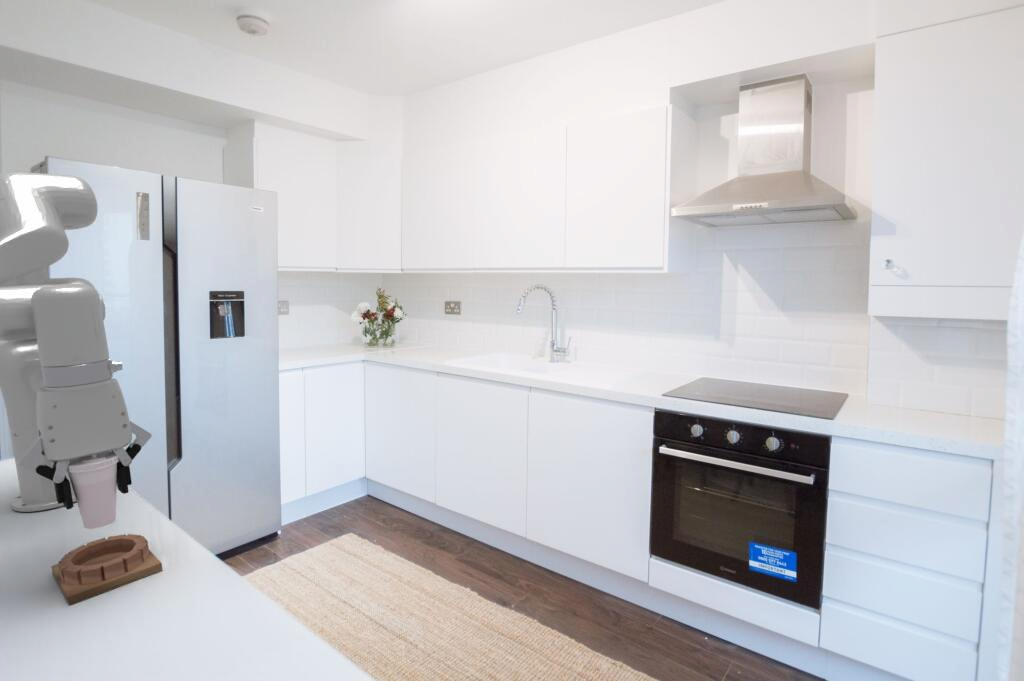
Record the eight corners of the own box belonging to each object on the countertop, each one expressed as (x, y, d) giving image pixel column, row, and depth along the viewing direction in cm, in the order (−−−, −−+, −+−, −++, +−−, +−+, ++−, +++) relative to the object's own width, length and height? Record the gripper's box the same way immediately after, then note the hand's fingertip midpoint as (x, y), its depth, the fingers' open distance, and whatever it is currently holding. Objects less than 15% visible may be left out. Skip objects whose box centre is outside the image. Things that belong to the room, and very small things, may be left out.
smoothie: (98, 534, 79) (85, 436, 77) (60, 531, 80) (46, 434, 78) (137, 514, 85) (126, 422, 83) (101, 511, 86) (89, 421, 84)
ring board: (52, 573, 84) (49, 553, 83) (138, 544, 92) (136, 525, 91) (69, 605, 76) (65, 583, 75) (162, 570, 84) (159, 550, 83)
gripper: (141, 362, 88) (156, 474, 91) (-8, 383, 76) (14, 512, 78) (156, 367, 83) (171, 486, 86) (-2, 390, 71) (22, 528, 73)
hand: (96, 497), depth 82 cm, fingers closed on smoothie, 5 cm apart
